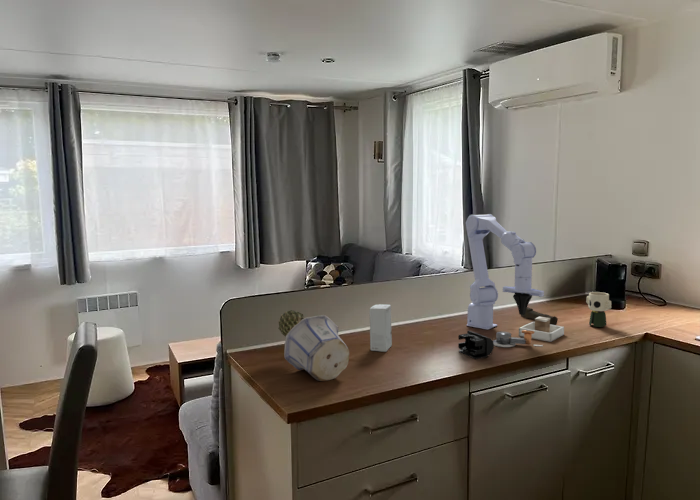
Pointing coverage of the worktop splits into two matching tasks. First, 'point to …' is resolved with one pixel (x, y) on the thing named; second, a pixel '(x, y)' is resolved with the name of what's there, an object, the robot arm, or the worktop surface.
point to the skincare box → (380, 327)
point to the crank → (507, 339)
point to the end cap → (475, 345)
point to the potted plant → (313, 345)
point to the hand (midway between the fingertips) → (522, 314)
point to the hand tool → (533, 314)
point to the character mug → (598, 308)
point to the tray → (554, 332)
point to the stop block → (542, 324)
